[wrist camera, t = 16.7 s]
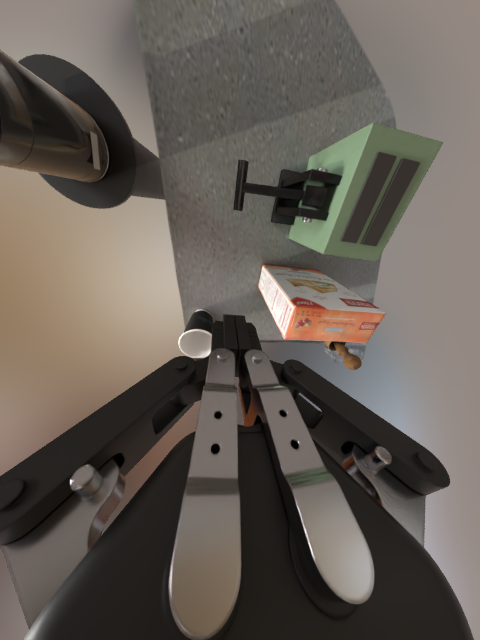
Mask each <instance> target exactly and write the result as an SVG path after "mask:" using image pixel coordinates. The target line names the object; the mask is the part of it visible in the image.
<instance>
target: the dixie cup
mask: <svg viewBox="0 0 480 640" xmlns="http://www.w3.org/2000/svg"><path fill="white" fill-rule="evenodd" d="M212 326H213V320H212V316H211V314H210V313H209V312H208V311H206V310H203V309H200V310H197V311H195V312H194V313H193V314H192V316H191V318H190V320H189V323H188V325H187V327H186V329H185V331H184V333H183V334H182V335H181V337H180V338H179V348H180V350H181V351H182V352H183V353H184V354H186V355H188V356H190V357H193V358H203V357H207V356H208V355H209V354H210V353H211V340H212Z"/></svg>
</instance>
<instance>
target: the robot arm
mask: <svg viewBox="0 0 480 640" xmlns="http://www.w3.org/2000/svg"><path fill="white" fill-rule="evenodd" d="M110 163H111V156H110V150H109V146H108V143H107V140H106V138H105V135H104V134H103V132H102V130H101V128H100V127H99V125H98V124H97V122H96V121H95V120H94V119H93V117H92V116H91V115H90V114H89V113H88V112H87V111H86V110H84V109H83V108H82V107H81V106H79V105H78V104H76V103H75V102H73V101H71V100H69V99H68V98H67V97H65V96H64V95H63V94H61V93H60V92H59V91H57V90H56V89H54V88H53V87H52V86H50V85H49V84H47V83H46V82H45V81H43V80H42V79H40V78H39V77H38V76H36V75H35V74H33V73H32V72H31V71H29V70H28V69H26V68H25V67H24V66H22V65H21V64H19V63H18V62H16V61H15V60H14V59H12V58H11V57H9V56H8V55H7V54H5V53H4V52H3V51H1V50H0V165H1V166H6V167H11V168H16V169H22V170H28V171H33V172H38V173H43V174H49V175H54V176H59V177H65V178H69V179H75V180H79V181H82V182H87V183H95V182H98V181H101V180H102V179H103V178H105V176H106V175H107V174H108V172H109V169H110ZM235 377H239V385H238V390H239V396H240V401H241V406H242V411H243V417H244V426H242V425H238V424H237V388H236V387H235ZM299 393H301V394H303V395H304V396H305V397H306V398H308V399H309V400H310V401H311V402H313V403H314V404H315V405H316V406H318V407H319V408H320V409H321V410H322V412H321V411H319V410H317V409H316V408H314V406H312V405H311V404H310V403H308V402H307V401H306V400H305V399H304V398H302V397H301V396H300V395H299ZM199 400H201V404H200V409H199V414H198V420H197V426H196V431H195V432H193V433H191V434H189V435H187V436H186V437H185V438H183V439H182V440H181V441H180V442H179V443H178V444H176V446H174V448H173V449H172V450H171V451H170V452H169V454H168V455H167V456H166V457H165V458H164V460H163V461H162V462H161V463H160V465H159V466H158V467H157V468H156V470H155V471H154V472H153V473H152V474H151V476H150V477H149V478H148V480H147V481H146V482H145V483H144V484H143V485H142V487H141V488H140V489H139V490H138V492H137V493H136V494H135V495H134V497H133V498H132V499H131V500H130V501H129V503H128V504H127V505H126V506H125V508H124V509H123V510H122V511H121V512H120V514H119V515H118V516H117V517H116V519H115V520H114V521H113V522H112V524H111V525H110V526H109V527H108V529H107V530H106V531H105V532H104V533H103V535H102V531H103V529H104V526H105V524H106V522H107V520H108V518H109V517H110V515H111V514H112V512H113V511H114V510H115V508H116V507H117V505H118V504H119V502H120V500H121V498H122V496H123V493H124V490H125V475H126V474H127V473H128V472H129V471H130V470H131V469H132V468H133V467H134V466H135V465H136V464H137V463H138V462H139V461H140V460H141V459H142V458H143V457H144V456H145V454H147V452H148V451H149V450H150V449H151V448H152V447H153V446H154V445H155V444H156V443H157V442H158V441H159V440H160V439H161V438H162V437H163V436H164V435H165V434H166V433H167V432H168V430H170V429H171V428H172V426H173V425H174V424H175V423H176V422H177V421H178V420H179V419H180V418H181V417H182V416H183V415H184V414H185V413H186V412H187V411H188V410H189V409H190V408H191V407H192V406H193V404H194V402H196V401H199ZM449 484H450V478H449V475H448V473H447V471H446V469H445V468H444V466H443V465H442V463H441V462H440V461H439V460H438V459H437V458H436V457H435V456H434V455H433V454H432V453H431V452H430V451H429V450H427V449H426V448H425V447H423V446H422V445H420V444H419V443H417V442H416V441H414V440H413V439H411V438H410V437H409V436H407V435H406V434H404V433H403V432H401V431H400V430H398V429H397V428H395V427H394V426H393V425H391V424H390V423H388V422H387V421H385V420H384V419H382V418H381V417H379V416H378V415H377V414H375V413H374V412H372V411H371V410H369V409H368V408H366V407H365V406H364V405H362V404H361V403H359V402H358V401H356V400H355V399H353V398H352V397H350V396H349V395H348V394H346V393H345V392H343V391H342V390H340V389H338V388H337V387H336V386H334V385H333V384H332V383H330V382H329V381H327V380H326V379H324V378H323V377H321V376H320V375H318V374H317V373H316V372H314V371H312V370H311V369H310V368H308V367H307V366H305V365H304V364H302V363H301V362H299V361H297V360H287V361H285V363H284V364H280V363H276V362H273V361H271V360H269V358H268V356H267V354H265V353H264V352H263V351H262V348H261V345H260V342H259V338H258V335H257V332H256V328H255V327H254V326H253V324H252V323H246V320H245V316H241V315H226V314H224V315H223V321H215V322H214V324H213V326H212V340H211V353H210V354H209V355H208V356H207V357H206V358H204V359H202V360H198V361H194V360H193V359H192V358H190V357H187V356H179V357H176V358H173V359H172V360H170V361H169V362H167V363H166V364H164V365H163V366H161V367H160V368H158V369H157V370H155V371H154V372H152V373H151V374H150V375H148V376H147V377H145V378H144V379H143V380H141V381H139V382H138V383H136V384H135V385H133V386H132V387H131V388H129V389H128V390H126V391H125V392H123V393H122V394H120V395H119V396H117V397H116V398H114V399H113V400H111V401H110V402H109V403H107V404H106V405H104V406H103V407H101V408H100V409H98V410H97V411H95V412H94V413H92V414H91V415H90V416H88V417H87V418H85V419H84V420H82V421H81V422H79V423H78V424H76V425H75V426H73V427H72V428H70V429H69V430H68V431H66V432H65V433H63V434H62V435H60V436H59V437H57V438H56V439H54V440H53V441H51V442H50V443H48V444H47V445H46V446H44V447H43V448H41V449H40V450H38V451H37V452H35V453H34V454H32V455H31V456H30V457H28V458H27V459H25V460H24V461H22V462H21V463H19V464H18V465H16V466H15V467H14V468H12V469H10V470H9V471H8V472H6V473H5V474H3V475H2V476H0V549H1V550H2V551H3V554H4V557H5V560H6V563H7V566H8V569H9V572H10V575H11V578H12V581H13V584H14V586H15V589H16V592H17V595H18V598H19V601H20V604H21V607H22V610H23V613H24V616H25V619H26V622H27V625H28V628H29V631H28V633H27V635H26V636H25V638H24V640H474V639H473V636H472V633H471V630H470V627H469V624H468V622H467V619H466V617H465V614H464V612H463V610H462V607H461V605H460V603H459V601H458V599H457V597H456V595H455V593H454V591H453V589H452V588H451V586H450V584H449V583H448V581H447V579H446V577H445V576H444V574H443V573H442V571H441V570H440V568H439V567H438V565H437V564H436V563H435V561H434V560H433V559H432V557H431V556H430V554H429V553H428V552H427V551H426V550H425V548H424V529H425V528H424V527H425V497H426V495H428V494H431V493H433V492H435V491H438V490H440V489H443V488H445V487H447V486H449ZM101 535H102V536H101Z"/></svg>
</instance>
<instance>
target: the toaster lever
mask: <svg viewBox="0 0 480 640" xmlns="http://www.w3.org/2000/svg"><path fill="white" fill-rule="evenodd" d="M247 170H248V161H245V160H239V161H238V171H237V181H236V190H235V200H234V210H239V211H242V209H243V202H244V194H245V193H251V194H258V195H265V196H271V197H278V198H285V199H292V200H299V201H302V203H301V205H302V206H306V207H312V208H319V209H321V208H322V206H323V203H324V200H325V197H326V194H327V191H328V188H327V187H319V186H311V185H306V189H305V191H303V190H295V189H288V188H280V187H273V186H265V185H258V184H250V183H246V178H247Z"/></svg>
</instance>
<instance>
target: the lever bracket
mask: <svg viewBox="0 0 480 640" xmlns="http://www.w3.org/2000/svg"><path fill="white" fill-rule="evenodd" d="M341 179H342V175H338V174H333V173H329V172H328V169H325V168H318V169H317V170H315V169H310V170H308V171H306V172H303V173H298V172H294V171H289V170H285V169H283V170H281V175H280V179H279V184H278V187H280V188H288V189H295V190H303V191H305V189H306V185H311V186H319V187H333V186H339V185H340V182H341ZM299 204H300V201H299V200H292V199H285V198H278V197H276V199H275V203H274V208H273V213H272V218H271V222H275V223H281V224H287V225H294V222H295V218H296V217H300V218H303V219H302V221H304V222H310V223H311V222H312V219H315V220H322V221H327V218H328V215H329V213H328V212H322V211H317V210H311V209H306V208H298V207H299Z"/></svg>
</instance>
